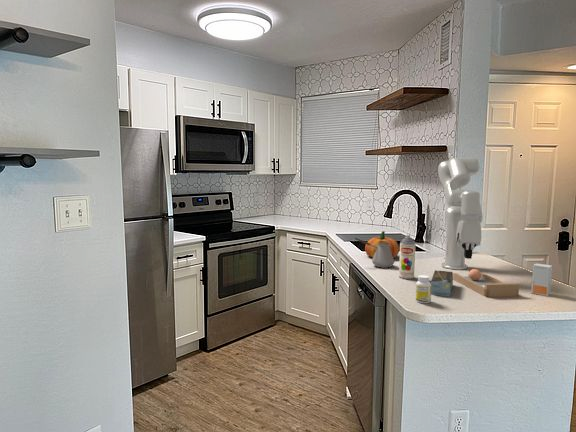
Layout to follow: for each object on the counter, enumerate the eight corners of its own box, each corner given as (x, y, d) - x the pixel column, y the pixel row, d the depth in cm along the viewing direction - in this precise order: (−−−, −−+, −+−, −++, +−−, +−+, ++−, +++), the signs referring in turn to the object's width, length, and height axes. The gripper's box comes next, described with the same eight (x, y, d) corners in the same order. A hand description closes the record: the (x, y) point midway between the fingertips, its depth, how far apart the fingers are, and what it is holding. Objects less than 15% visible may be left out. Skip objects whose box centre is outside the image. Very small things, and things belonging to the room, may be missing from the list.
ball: (466, 278, 186) (466, 267, 185) (476, 278, 186) (477, 267, 185) (472, 281, 181) (472, 270, 180) (483, 281, 181) (483, 270, 180)
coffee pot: (391, 264, 220) (392, 236, 219) (396, 269, 209) (397, 239, 207) (351, 263, 221) (352, 235, 219) (354, 268, 210) (354, 239, 208)
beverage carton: (429, 295, 166) (430, 279, 165) (433, 283, 183) (434, 268, 182) (450, 297, 163) (451, 281, 162) (452, 285, 180) (453, 270, 179)
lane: (453, 279, 189) (453, 268, 189) (480, 278, 190) (481, 268, 190) (486, 297, 162) (486, 284, 162) (518, 296, 164) (519, 284, 163)
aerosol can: (397, 278, 190) (399, 235, 188) (400, 275, 196) (401, 233, 194) (413, 280, 187) (414, 236, 185) (414, 276, 194) (416, 234, 192)
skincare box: (530, 293, 168) (532, 264, 167) (533, 291, 171) (535, 263, 170) (547, 296, 164) (550, 267, 162) (550, 294, 166) (552, 265, 165)
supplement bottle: (422, 298, 160) (423, 273, 159) (433, 302, 156) (434, 277, 154) (412, 300, 158) (413, 275, 157) (423, 304, 153) (424, 278, 152)
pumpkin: (362, 259, 232) (363, 233, 230) (367, 253, 250) (367, 228, 248) (398, 262, 226) (398, 234, 224) (399, 255, 244) (400, 230, 242)
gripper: (480, 217, 191) (479, 256, 193) (449, 217, 190) (448, 256, 191) (490, 219, 184) (488, 259, 185) (458, 218, 183) (456, 259, 184)
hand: (467, 258), depth 188 cm, fingers closed
